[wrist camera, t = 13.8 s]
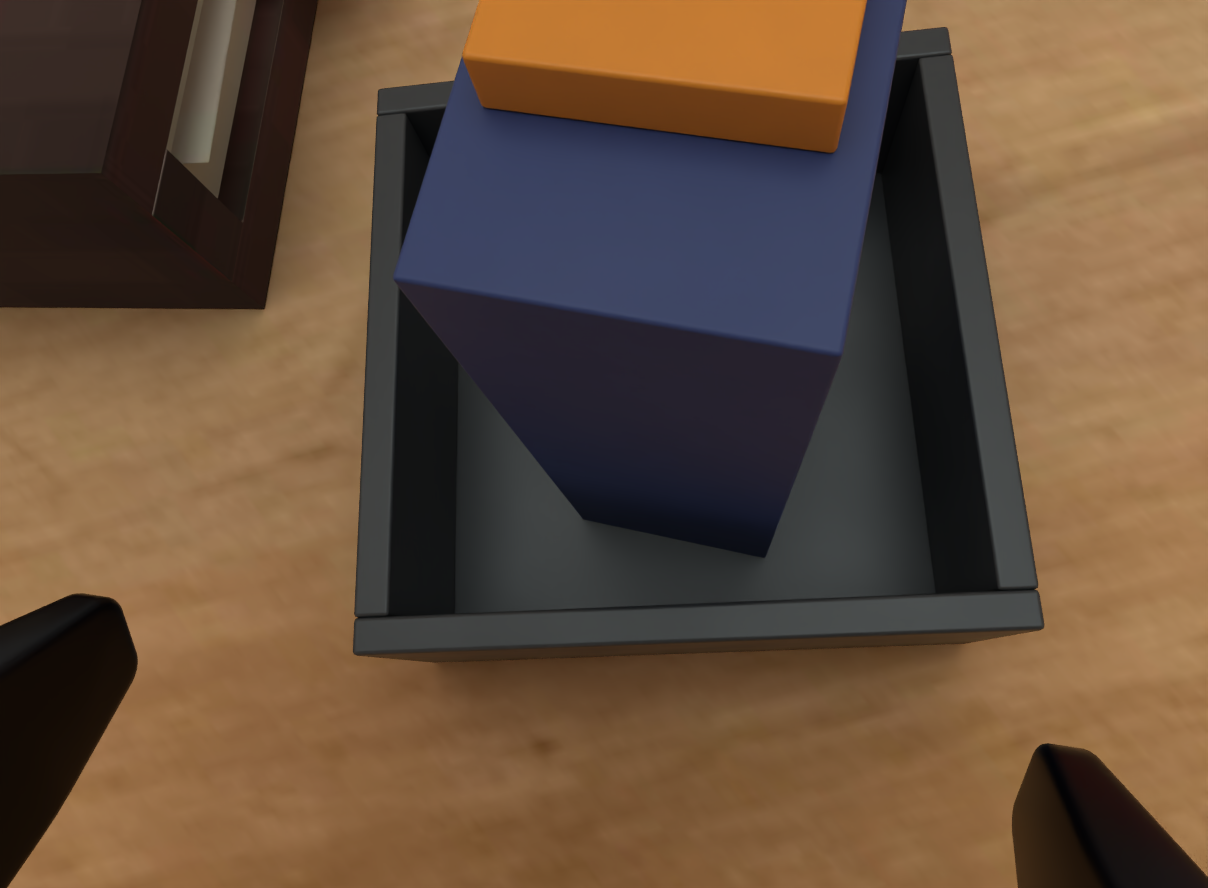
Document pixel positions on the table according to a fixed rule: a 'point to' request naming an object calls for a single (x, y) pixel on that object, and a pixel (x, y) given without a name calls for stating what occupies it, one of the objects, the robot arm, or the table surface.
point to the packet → (656, 241)
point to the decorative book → (145, 149)
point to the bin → (819, 494)
